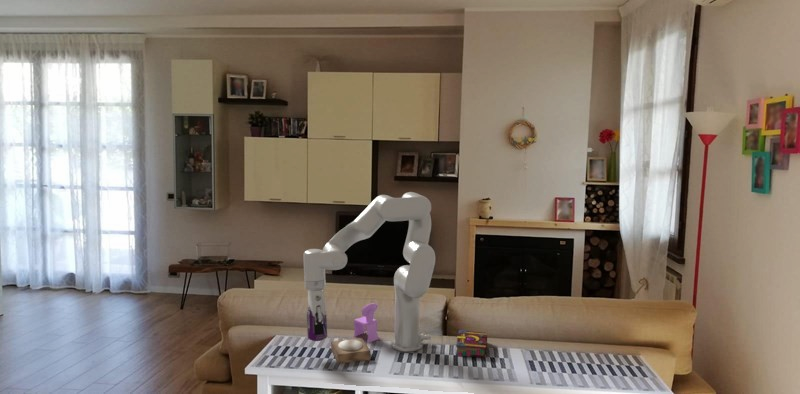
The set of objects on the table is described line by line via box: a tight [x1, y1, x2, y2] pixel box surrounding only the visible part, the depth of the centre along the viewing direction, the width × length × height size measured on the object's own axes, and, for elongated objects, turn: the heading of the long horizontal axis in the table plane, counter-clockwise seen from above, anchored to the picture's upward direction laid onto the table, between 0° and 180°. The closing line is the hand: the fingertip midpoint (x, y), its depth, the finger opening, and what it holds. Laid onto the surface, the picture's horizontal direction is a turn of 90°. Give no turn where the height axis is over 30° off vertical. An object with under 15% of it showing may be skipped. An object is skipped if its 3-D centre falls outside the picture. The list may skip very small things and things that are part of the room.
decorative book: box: [455, 329, 488, 359], centre depth 208 cm, size 11×16×5 cm
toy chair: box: [353, 302, 380, 344], centre depth 216 cm, size 8×9×15 cm
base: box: [330, 337, 371, 365], centre depth 201 cm, size 12×12×4 cm
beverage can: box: [306, 306, 328, 342], centre depth 197 cm, size 7×7×12 cm
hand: (317, 329), depth 198 cm, fingers closed on beverage can, 7 cm apart
